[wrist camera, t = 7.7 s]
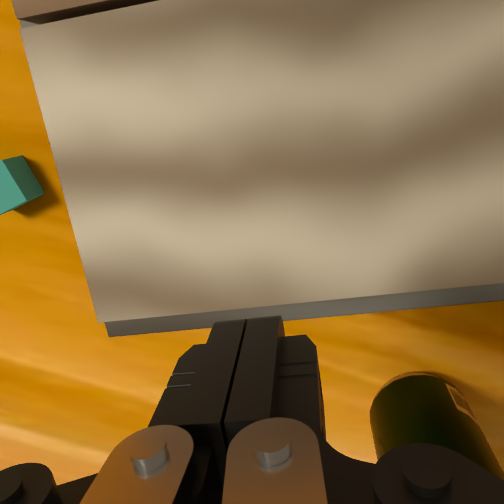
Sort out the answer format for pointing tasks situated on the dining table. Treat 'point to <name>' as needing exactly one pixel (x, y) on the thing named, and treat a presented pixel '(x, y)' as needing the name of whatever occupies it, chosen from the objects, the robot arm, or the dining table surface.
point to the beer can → (428, 419)
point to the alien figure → (17, 184)
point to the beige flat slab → (276, 149)
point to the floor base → (85, 3)
